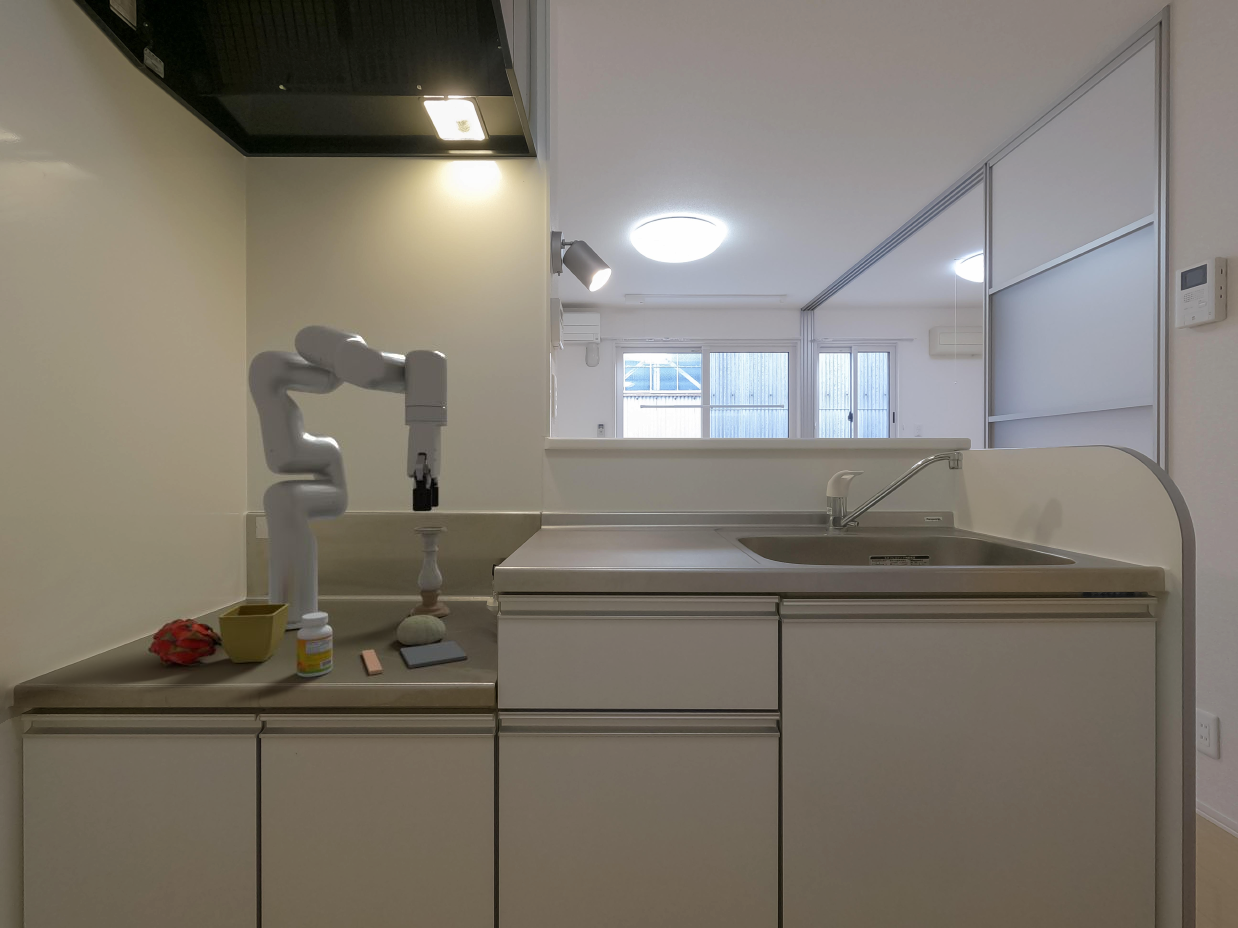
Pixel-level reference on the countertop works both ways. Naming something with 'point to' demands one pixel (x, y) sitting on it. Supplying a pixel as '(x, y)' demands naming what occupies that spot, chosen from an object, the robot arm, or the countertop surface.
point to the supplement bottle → (314, 646)
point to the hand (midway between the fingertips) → (426, 508)
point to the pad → (432, 654)
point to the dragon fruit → (184, 642)
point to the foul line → (371, 662)
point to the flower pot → (253, 631)
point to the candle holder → (430, 575)
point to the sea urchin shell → (420, 630)
